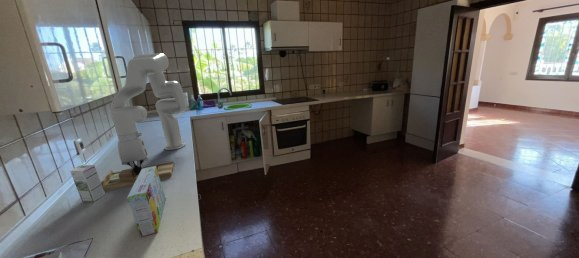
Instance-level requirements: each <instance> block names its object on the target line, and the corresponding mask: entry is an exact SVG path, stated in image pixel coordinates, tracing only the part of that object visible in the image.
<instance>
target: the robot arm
mask: <svg viewBox="0 0 579 258" xmlns="http://www.w3.org/2000/svg"><path fill="white" fill-rule="evenodd" d="M169 64H170V63H169V58H168V57H167V55H166V54H164V53H163V52H162V53H145V54H138V55H137V54H136V55H134V56H133V58H132V59H130V60H128V62H127V67H126V73H125V75H126V76H125V84H124V86H123V87H122V88H121V89H120V90H119V91H118V92H117V93H116V94H115V96H113V99H112V101H111V106H110V118H111V120H112V122H113V126H114V130H115V132H116V133H115V134H116V136H117V139H118V141H117V151H118V156H119V160H120V162H121V166H129V167H131V168H133V170H134V173H136V175H139V173H140V172H141V170H142V167H143V166H142V164H143V163H145V162H148V160H149V157H148V150H147V148H146V144H145V142H144V140H143V138H142V137H141V136H142V135H143V134H142V132H138V128H137V125H136V124H137V123H141V122H143V121H145V120H146V119H147V116H148V111H147V109H146V108H145V107H144V106H142V105H131V106H129V105H128V106H125V105H126V103H127V102H128V101H130V100H131V99H132V98H134V97H136V96H138V95H140V94H142V93H144V92H145V91H146V88H147V79H148V80H149V84H150V87H151V89H152V92H153V95H154V96H155V97H156V98H159V99H158V100H157V101H156V103H155V105H154V106H155V110H156V111H157V114H158V116H159V120H160V123H161V124H160V125H161V128H162V132H163V136H164V139H165V144H166V145H164V147H163V148H164V150H166V151H173V150H179V149H182V148H183V147H186V142H185V141H183V139H182V134H181V130H180V129H181V128H180V125H179V120H178V118H177V117H176V116H175V114H182V113H185V112H186V111H187V109H188V106H187V102H186V99H185V94H184V90H183V87H182V85H181V83H180V82H179V81H176V80H168V81H167V79H166V75H165V74H164V71H166V70H167V69H168V67H169V66H170V65H169ZM163 98H164V99H163Z"/></svg>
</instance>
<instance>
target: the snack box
mask: <svg viewBox="0 0 579 258" xmlns="http://www.w3.org/2000/svg"><path fill="white" fill-rule="evenodd" d="M165 195H166V194H165V192H164V188H163V184H162V182H161V179H160V178H159V174H158V171H157V167H156V166H153V167H148V168H143V169H142V170H141V172H140V173H139V175H138V177H137V179H136V181H135V183H134V185H132V187H131V189H130V191H129V193H128V195H127V197H126V199H127V202H128V204H129V207H130V209H131V212H132V216H133V218H134V222H135V224H136V226H137V230H138V233H139V236H140V238H143V237H146V236H149V235H154V234H157V233H158V232H159V228H160V224H161V219H162V215H163V212H164V207H165V203H166V199H167V198H166V196H165Z"/></svg>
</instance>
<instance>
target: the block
mask: <svg viewBox="0 0 579 258" xmlns="http://www.w3.org/2000/svg"><path fill="white" fill-rule="evenodd" d="M120 171H121V172H120V173H119V178H120V181H126V180H131V179H134V178H135V177H136V173H134V170H133V168H132V167H131V168H127V169H122V170H120Z"/></svg>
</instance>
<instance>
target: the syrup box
mask: <svg viewBox="0 0 579 258" xmlns="http://www.w3.org/2000/svg"><path fill="white" fill-rule="evenodd" d="M69 173H70V175H71V178H72V179H73V182H74V184H75V187H76V190H77V192H78V195H79V197H80V199H81V202H82V203H84V202H90V203H91V202H96V201H97V200H99V199H100V198H102V197H103V196H105V195H106V193H105V191H104V190H103V187H102V185H101V180H100V177H99V174H98V171H97V169H96V166H95V164H81V165H78V166H76V167H74V168H72V169H71V170H70V171H69Z"/></svg>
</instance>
